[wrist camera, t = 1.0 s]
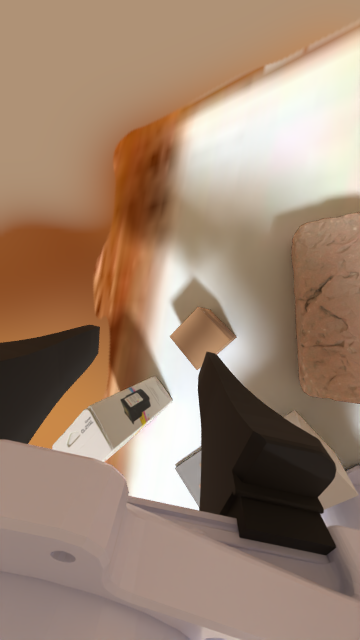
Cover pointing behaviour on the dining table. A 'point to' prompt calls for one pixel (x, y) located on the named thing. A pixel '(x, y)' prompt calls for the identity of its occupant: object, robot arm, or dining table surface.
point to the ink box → (114, 420)
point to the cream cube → (341, 484)
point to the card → (191, 475)
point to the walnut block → (201, 336)
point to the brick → (328, 307)
